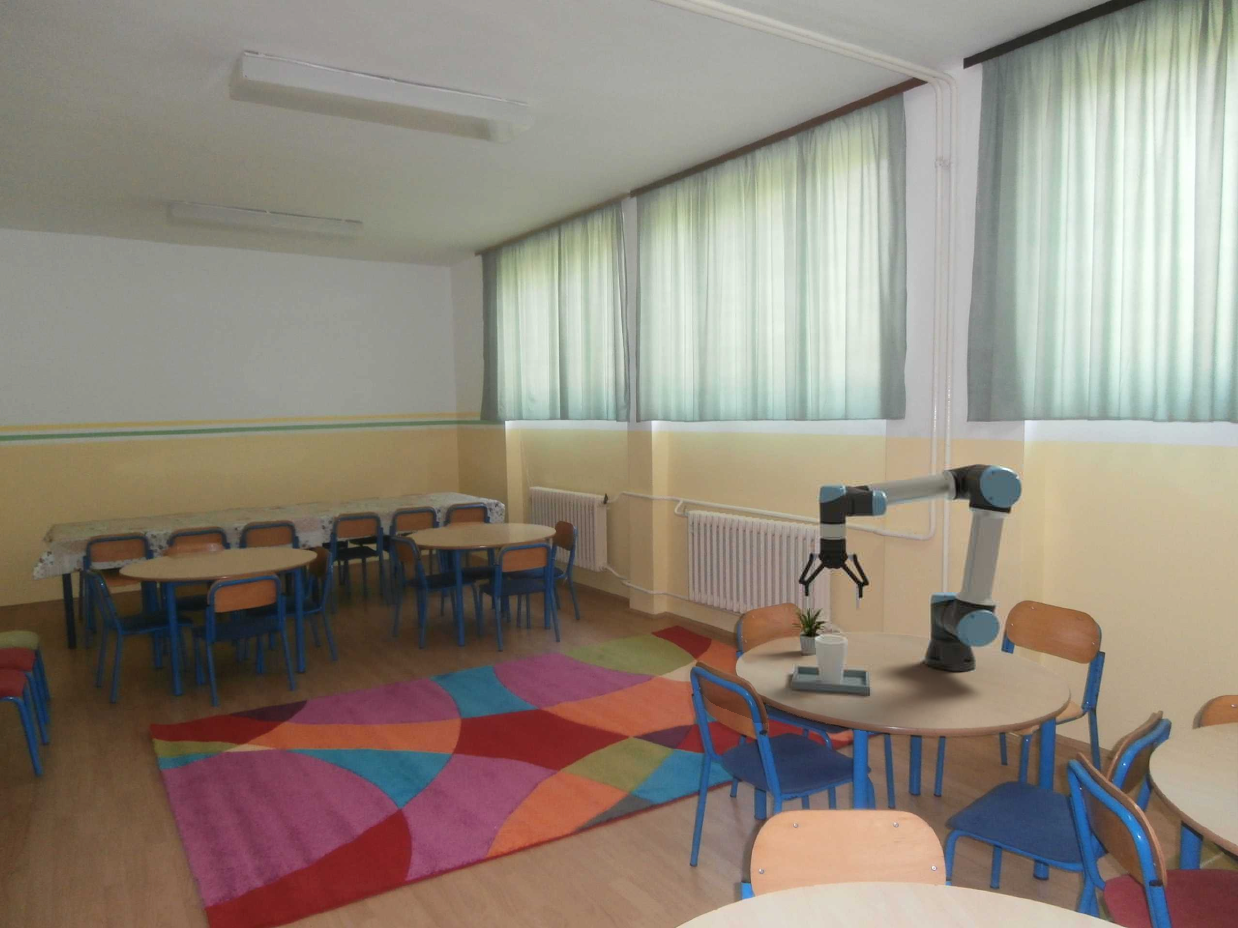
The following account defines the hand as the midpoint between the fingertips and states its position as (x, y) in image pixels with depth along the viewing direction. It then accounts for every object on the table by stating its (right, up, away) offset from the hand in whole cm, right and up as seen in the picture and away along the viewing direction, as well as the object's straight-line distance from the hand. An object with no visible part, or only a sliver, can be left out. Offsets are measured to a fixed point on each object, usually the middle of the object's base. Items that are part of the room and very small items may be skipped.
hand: (833, 607), depth 249 cm
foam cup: (-1, -22, 0) cm, 22 cm away
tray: (-1, -23, 0) cm, 23 cm away
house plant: (-1, -21, +33) cm, 39 cm away
